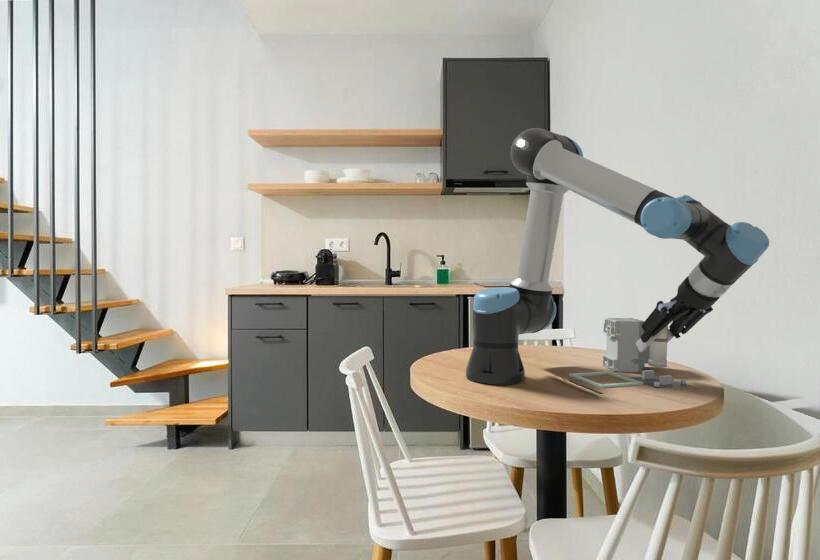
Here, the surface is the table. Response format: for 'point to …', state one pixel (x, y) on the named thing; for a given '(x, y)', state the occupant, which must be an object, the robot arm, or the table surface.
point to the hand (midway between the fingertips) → (647, 347)
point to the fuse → (659, 349)
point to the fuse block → (658, 380)
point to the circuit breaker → (624, 345)
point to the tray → (577, 376)
